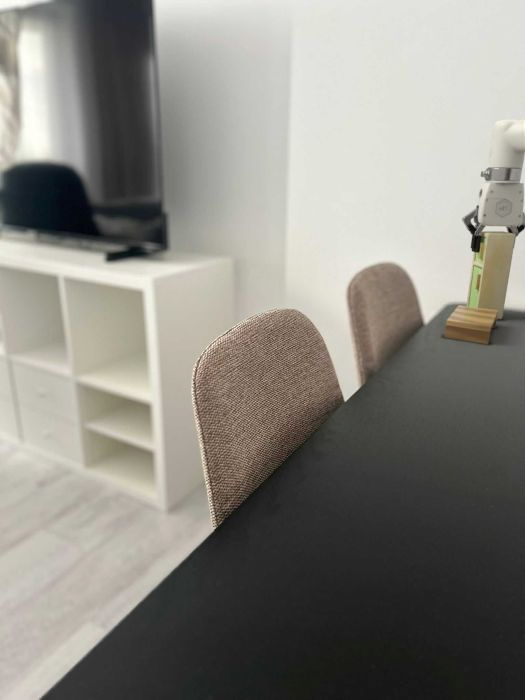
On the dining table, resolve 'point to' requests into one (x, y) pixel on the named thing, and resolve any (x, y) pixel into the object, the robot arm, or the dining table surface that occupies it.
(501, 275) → the toy refrigerator
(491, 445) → the dining table surface
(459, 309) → the oak shelf
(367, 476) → the dining table surface
